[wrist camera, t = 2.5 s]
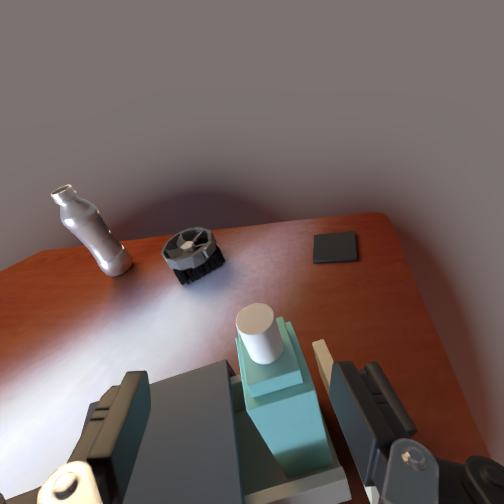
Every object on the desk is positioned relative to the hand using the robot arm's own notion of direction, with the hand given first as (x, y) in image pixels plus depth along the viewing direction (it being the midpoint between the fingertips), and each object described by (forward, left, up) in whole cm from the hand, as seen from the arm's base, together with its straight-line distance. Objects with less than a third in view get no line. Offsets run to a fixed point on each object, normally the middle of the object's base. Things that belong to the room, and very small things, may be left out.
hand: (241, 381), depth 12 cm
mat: (+21, -26, -21) cm, 40 cm away
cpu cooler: (+39, -7, -22) cm, 45 cm away
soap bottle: (+3, -2, -19) cm, 20 cm away
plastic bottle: (+53, +6, -22) cm, 58 cm away
